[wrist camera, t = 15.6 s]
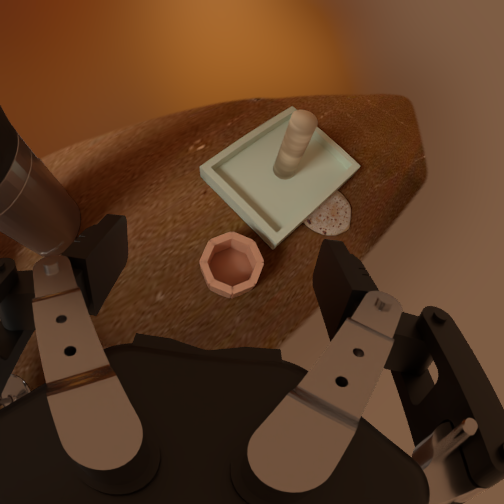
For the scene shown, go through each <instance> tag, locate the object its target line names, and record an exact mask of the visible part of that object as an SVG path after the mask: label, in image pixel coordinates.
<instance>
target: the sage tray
mask: <svg viewBox="0 0 504 504" xmlns="http://www.w3.org/2000/svg"><path fill="white" fill-rule="evenodd" d="M296 110H297V109H295V108H294V107H293V106H291V107H290V108H288V109H286V110H285V111H283V112H281V113H280V114H278V115H276V116H275V117H273V118H272V119H270V120H268V121H267V122H265V123H264V124H262V125H260V126H259V127H257V128H256V129H254V130H253V131H251V132H250V133H248V134H246V135H245V136H243V137H242V138H240V139H239V140H237V141H236V142H234V143H233V144H231V145H230V146H228V147H227V148H226V149H224V150H223V151H221V152H220V153H218V154H217V155H215V156H214V157H213V158H211V159H210V160H208V161H207V162H206V163H204V164H203V165H201V166H200V177H201V178H202V179H203V180H204V181H205V182H206V183H207V184H208V185H209V186H210V187H211V188H212V189H213V190H214V191H215V192H216V193H217V194H218V195H219V196H220V197H221V198H222V199H223V200H224V201H225V202H226V203H227V204H228V205H229V206H230V207H231V208H232V209H233V210H234V211H235V212H236V213H237V214H238V215H239V216H240V217H241V218H242V219H243V220H244V221H245V222H246V223H247V224H248V225H249V226H250V227H251V228H252V229H253V230H254V231H255V232H256V233H257V234H258V235H259V236H260V237H261V238H262V240H263V241H264V242H265V243H266V244H267V245H268V246H269V247H270V248H271V249H272V250H273V249H275V248H276V247H277V246H278V245H279V244H280V243H281V242H282V241H283V240H284V239H285V238H287V237H288V236H289V235H290V234H291V233H292V232H293V231H294V230H295V229H296V228H297V227H298V226H299V225H301V224H302V223H303V221H304V220H305V219H307V218H308V217H309V216H310V215H311V214H312V213H313V212H314V211H315V210H316V209H317V208H318V207H319V206H320V205H322V204H323V203H324V202H325V201H326V200H327V199H328V198H329V197H330V196H331V195H332V194H333V193H334V192H335V191H337V190H338V189H339V188H340V187H341V186H342V185H343V184H344V183H346V182H347V181H348V180H349V179H350V178H351V177H352V176H353V175H354V174H355V173H356V171H357V170H358V169H359V168H360V167H361V166H360V165H359V164H358V163H357V162H356V161H355V160H354V159H353V158H352V157H351V156H350V155H348V154H347V153H346V152H345V151H344V150H343V149H342V148H341V147H340V146H339V145H338V144H336V143H335V142H334V141H333V140H332V139H331V138H330V137H329V136H327V135H326V134H325V133H324V132H323V131H322V130H321V129H319V128H318V127H316V129H315V131H314V133H313V135H312V137H311V140H310V142H309V144H308V146H307V148H306V150H305V152H304V154H303V156H302V158H301V160H300V163H299V165H298V167H297V169H296V171H295V173H294V175H293V177H292V178H290V179H287V180H284V179H280V178H278V177H277V176H276V175H275V174H274V172H273V166H274V164H275V161H276V158H277V155H278V152H279V149H280V146H281V143H282V141H283V138H284V135H285V132H286V129H287V126H288V124H289V121H290V118H291V115H292V113H293V112H294V111H296Z"/></svg>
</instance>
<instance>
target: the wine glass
mask: <svg viewBox="0 0 504 504" xmlns="http://www.w3.org/2000/svg"><path fill="white" fill-rule="evenodd" d="M29 392H31V391H30V389H29V387H28V385H27V384H26V383H25V382H24V381H23V380H22V379H21V378H20V377H19V376H17V375H14V374H11V375H10V377H9V379H8V381H7V383H6V386H5V388H4V390H3V392H2V394H1V398H0V406H1V405H3V406H4V407H6V406H7V405H9V404H11V403H12V402H14V401H16V400H17V399H19V398H21V397H23V396H24V395H26V394H28V393H29Z"/></svg>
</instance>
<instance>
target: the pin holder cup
mask: <svg viewBox="0 0 504 504" xmlns="http://www.w3.org/2000/svg"><path fill="white" fill-rule="evenodd" d="M263 262H264V260H263V258H262V256H261V253H260V251H259V249H258V247H257V245H256V242H255V241H254V242H253V240H252V239H250V238H248V237H245V236H243V235H240V234H238V233H235V232H232V233H231V232H228V233H226V234H223V235H220V236H218V237H215V238H212V239H210V241H208V243H207V246H206V248H205V250H204V252H203V254H202V257H201V259H200V267H201V271H202V274H203V276H204V279H205V281H206V283H207V286H208V288H209V289H210V290H211V291H213V292H215V293H217V294H219V295H221V296H225V297H227V298H230V297H231V298H234V297H236V296H239V295H242V294H244V293H246V292H248V291H251V290H252V289H253V287H254V286H255V285H256V283H257V280H258V278H259V275H260V273H261V270H262V268H263V265H264V263H263Z"/></svg>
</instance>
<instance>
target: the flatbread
mask: <svg viewBox="0 0 504 504" xmlns="http://www.w3.org/2000/svg"><path fill="white" fill-rule="evenodd" d="M350 219H351V207H350V204H349V202H348V201H347V200H346V198H345V197H344V196H343V195H342V194H341V193H340V192H339V191H338V190H337V191H335V192H334V193H333V194H332V195H331V196H330V197H329V198H328V199H327V200H326V201H325V202H324V203H323V204H322V205H320V206H319V207H318V208H317V209H316V210H315V211H314V212H313V213H312V214H311V215H310V216H309V217H308V218H307V219H305V220H304V221H303V223H304V224H305V225H306V226H307V227H309V228H310V229H312V230H313V231H315V232H317V233H320V234H323V235H338V234H340V233H342V232H345V231H346V230H348V229H349V227H350Z"/></svg>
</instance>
